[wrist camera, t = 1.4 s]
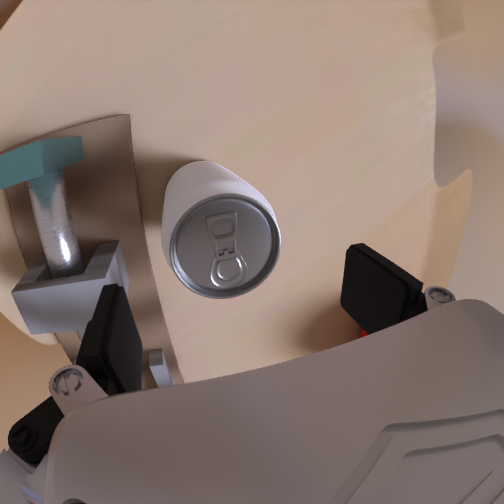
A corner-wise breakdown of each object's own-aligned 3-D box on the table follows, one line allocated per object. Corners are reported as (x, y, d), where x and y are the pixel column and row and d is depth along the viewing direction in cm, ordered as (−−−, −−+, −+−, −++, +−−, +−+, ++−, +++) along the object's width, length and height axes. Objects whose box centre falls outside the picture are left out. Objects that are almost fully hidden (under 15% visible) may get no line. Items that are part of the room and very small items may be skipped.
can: (172, 236, 25) (176, 317, 14) (158, 167, 22) (146, 199, 12) (240, 223, 26) (290, 290, 16) (232, 154, 23) (285, 175, 13)
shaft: (31, 150, 16) (-20, 164, 9) (81, 135, 17) (39, 140, 11) (78, 320, 24) (61, 377, 17) (121, 315, 25) (112, 374, 18)
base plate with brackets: (6, 150, 16) (-43, 163, 9) (129, 114, 19) (109, 106, 12) (105, 405, 31) (102, 450, 25) (189, 397, 34) (198, 444, 28)
